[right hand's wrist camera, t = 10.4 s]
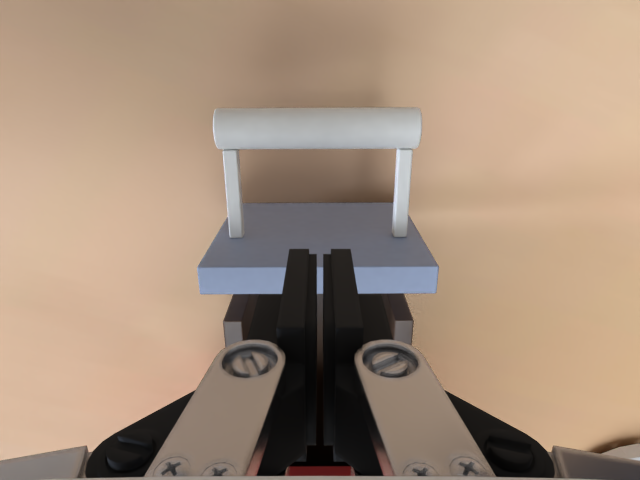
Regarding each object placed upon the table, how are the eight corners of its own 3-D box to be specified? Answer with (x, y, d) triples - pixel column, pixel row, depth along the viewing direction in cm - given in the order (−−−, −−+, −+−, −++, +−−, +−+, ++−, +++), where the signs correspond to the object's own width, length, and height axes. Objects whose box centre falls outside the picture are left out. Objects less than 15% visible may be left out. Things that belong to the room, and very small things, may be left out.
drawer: (227, 98, 23) (179, 117, 15) (408, 97, 23) (454, 116, 15) (255, 468, 33) (234, 599, 25) (384, 467, 33) (405, 599, 25)
